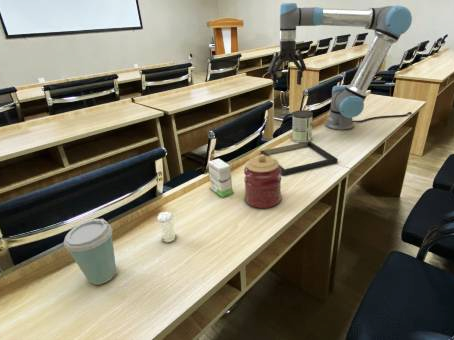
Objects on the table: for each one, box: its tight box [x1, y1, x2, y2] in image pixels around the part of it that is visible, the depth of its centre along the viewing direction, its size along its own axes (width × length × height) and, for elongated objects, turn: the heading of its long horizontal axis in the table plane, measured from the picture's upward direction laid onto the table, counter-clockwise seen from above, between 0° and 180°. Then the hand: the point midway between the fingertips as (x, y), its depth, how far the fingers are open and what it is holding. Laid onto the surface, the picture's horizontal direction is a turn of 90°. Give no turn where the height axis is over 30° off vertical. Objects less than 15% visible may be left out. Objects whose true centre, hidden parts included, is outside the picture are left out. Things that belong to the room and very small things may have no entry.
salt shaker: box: [153, 211, 176, 243], centre depth 91 cm, size 4×5×10 cm
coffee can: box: [291, 109, 314, 143], centre depth 159 cm, size 10×10×14 cm
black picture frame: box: [259, 141, 339, 176], centre depth 141 cm, size 27×23×2 cm
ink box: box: [207, 158, 234, 198], centre depth 115 cm, size 9×5×12 cm, turn 38°
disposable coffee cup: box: [63, 218, 117, 286], centre depth 77 cm, size 11×11×15 cm
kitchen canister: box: [243, 154, 282, 209], centre depth 108 cm, size 13×13×18 cm
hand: (287, 85), depth 155 cm, fingers open, 13 cm apart
